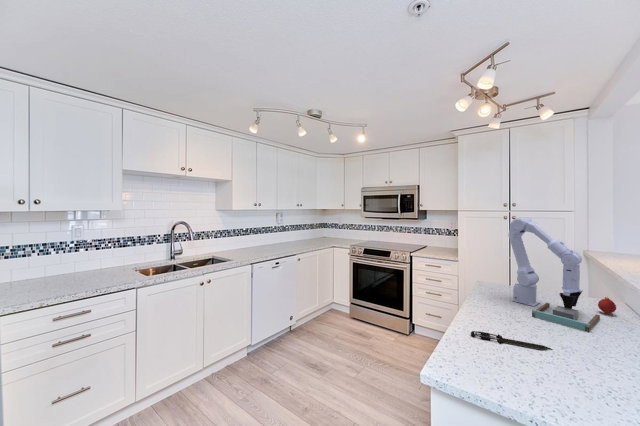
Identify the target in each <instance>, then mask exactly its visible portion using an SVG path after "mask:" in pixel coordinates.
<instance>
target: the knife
mask: <svg viewBox="0 0 640 426" xmlns="http://www.w3.org/2000/svg"><path fill="white" fill-rule="evenodd" d="M477 333H478V334H480V335H478V334H477ZM470 336H471V337H472V338H475V337H479V338H480V340H482V341H487V342H492V341H491V340H495V341H496V342H498V344H499V345H501V344H510V345H514V346H520V347H525V348H529V349H535V350H540V351H543V350H554V349H553V348H550V347H548V346H546V345H543V344H537V343H532V342H526V341H522V340H521V341H520V340H517V339H511V338H510V339H509V338H504V337H503V335H501V334H499V333H497V335H496V334H493V333H489V332H484V331H474V330H472V331H471V332H470ZM490 336H494V337H490Z"/></svg>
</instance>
